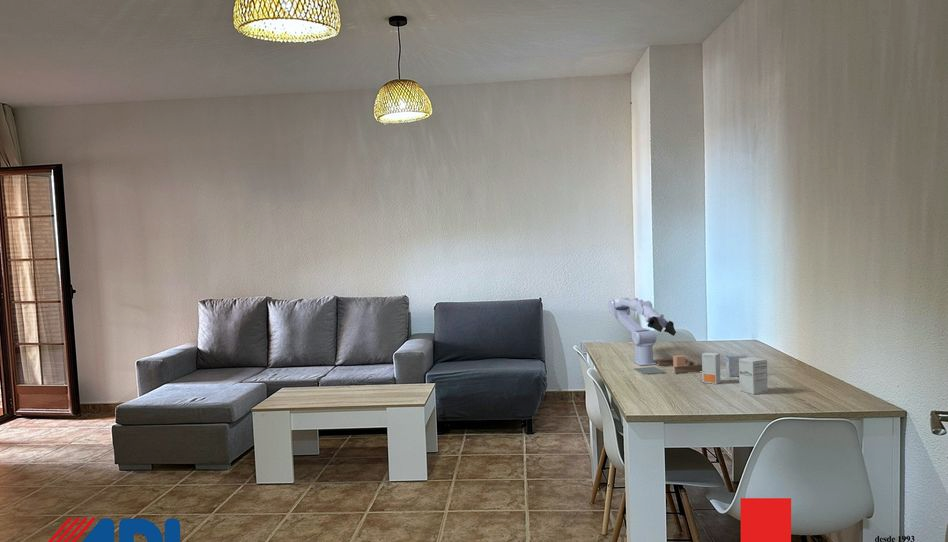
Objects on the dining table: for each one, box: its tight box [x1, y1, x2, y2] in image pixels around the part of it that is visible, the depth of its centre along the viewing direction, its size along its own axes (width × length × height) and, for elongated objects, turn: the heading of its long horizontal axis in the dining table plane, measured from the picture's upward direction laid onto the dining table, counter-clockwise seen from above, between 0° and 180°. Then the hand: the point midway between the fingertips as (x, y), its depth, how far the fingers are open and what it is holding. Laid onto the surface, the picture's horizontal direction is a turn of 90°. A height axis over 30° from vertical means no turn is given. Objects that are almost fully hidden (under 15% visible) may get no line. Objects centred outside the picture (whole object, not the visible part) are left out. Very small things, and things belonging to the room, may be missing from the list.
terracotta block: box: [672, 354, 686, 368], centre depth 315 cm, size 4×4×6 cm
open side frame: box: [657, 357, 702, 374], centre depth 315 cm, size 19×13×3 cm
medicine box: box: [725, 354, 749, 378], centre depth 295 cm, size 8×4×9 cm, turn 84°
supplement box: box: [738, 356, 769, 395], centre depth 265 cm, size 7×7×13 cm
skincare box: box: [701, 352, 721, 385], centre depth 284 cm, size 6×4×12 cm
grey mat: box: [633, 366, 666, 375], centre depth 313 cm, size 13×10×1 cm
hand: (667, 332), depth 311 cm, fingers open, 7 cm apart
